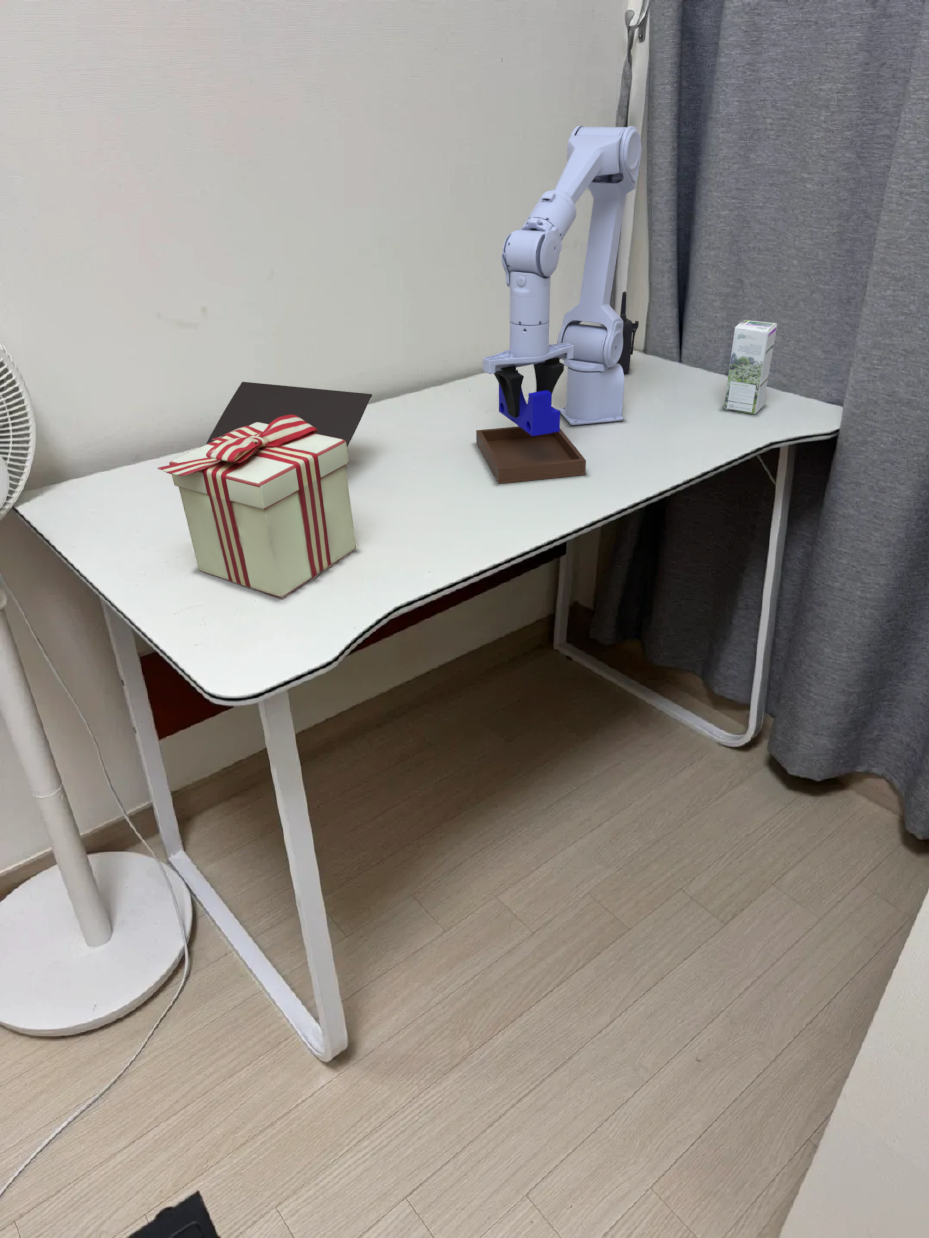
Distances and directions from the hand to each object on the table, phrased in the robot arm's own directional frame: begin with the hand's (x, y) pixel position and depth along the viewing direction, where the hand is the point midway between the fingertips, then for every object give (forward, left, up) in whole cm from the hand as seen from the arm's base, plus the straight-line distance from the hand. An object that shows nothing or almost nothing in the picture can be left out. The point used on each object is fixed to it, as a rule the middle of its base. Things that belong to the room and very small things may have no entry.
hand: (528, 412), depth 131 cm
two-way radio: (-30, -39, -8) cm, 49 cm away
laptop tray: (+38, -2, -8) cm, 39 cm away
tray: (0, 0, -8) cm, 8 cm away
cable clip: (0, 0, -2) cm, 2 cm away
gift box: (+40, +24, -8) cm, 48 cm away
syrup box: (-43, -13, -8) cm, 45 cm away
